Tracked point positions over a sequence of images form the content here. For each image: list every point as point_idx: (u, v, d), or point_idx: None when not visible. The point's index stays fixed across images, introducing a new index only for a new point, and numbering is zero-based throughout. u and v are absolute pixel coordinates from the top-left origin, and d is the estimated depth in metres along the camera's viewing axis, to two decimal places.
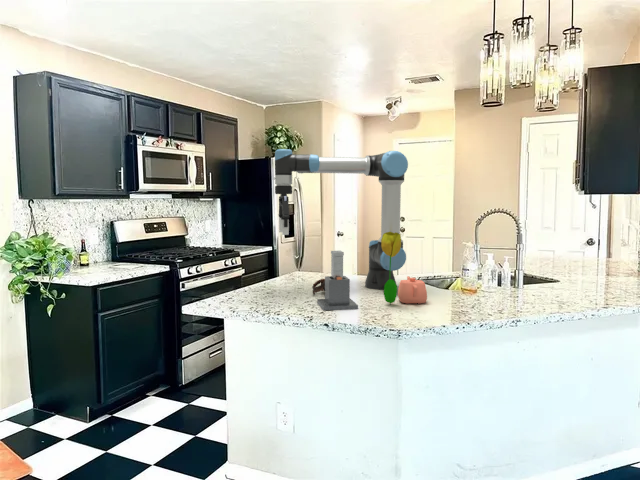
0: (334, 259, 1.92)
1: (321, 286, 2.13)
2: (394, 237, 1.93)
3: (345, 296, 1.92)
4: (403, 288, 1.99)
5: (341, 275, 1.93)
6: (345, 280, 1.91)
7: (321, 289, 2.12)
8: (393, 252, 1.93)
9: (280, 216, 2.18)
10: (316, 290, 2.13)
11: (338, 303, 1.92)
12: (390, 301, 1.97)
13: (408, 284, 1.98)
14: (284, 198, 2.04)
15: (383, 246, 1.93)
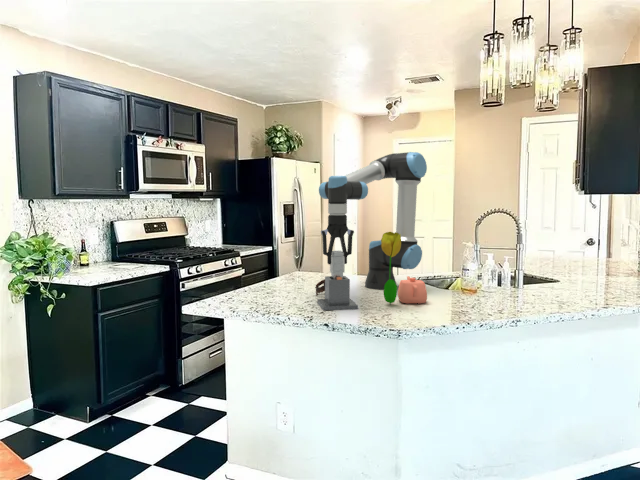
0: (334, 259, 1.92)
1: (324, 286, 2.12)
2: (394, 237, 1.93)
3: (345, 296, 1.92)
4: (403, 288, 1.99)
5: (341, 275, 1.93)
6: (345, 280, 1.91)
7: (324, 289, 2.12)
8: (393, 252, 1.93)
9: None
10: (319, 290, 2.13)
11: (338, 303, 1.92)
12: (390, 301, 1.97)
13: (408, 284, 1.98)
14: (321, 233, 1.92)
15: (383, 246, 1.93)
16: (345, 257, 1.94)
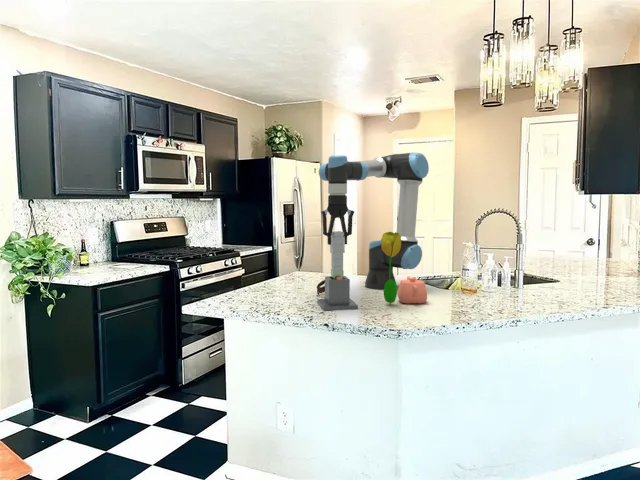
0: (334, 239, 1.91)
1: None
2: (394, 237, 1.93)
3: (345, 296, 1.92)
4: (403, 288, 1.99)
5: (341, 255, 1.92)
6: (345, 280, 1.91)
7: None
8: (393, 252, 1.93)
9: None
10: (321, 290, 2.12)
11: (338, 303, 1.92)
12: (390, 301, 1.97)
13: (408, 284, 1.98)
14: (321, 213, 1.92)
15: (383, 246, 1.93)
16: (345, 237, 1.93)
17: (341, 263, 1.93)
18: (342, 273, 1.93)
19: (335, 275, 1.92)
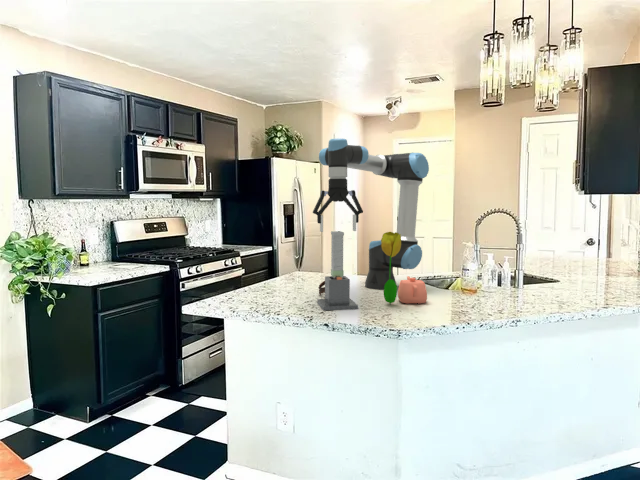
0: (334, 239, 1.91)
1: None
2: (394, 237, 1.93)
3: (345, 296, 1.92)
4: (403, 288, 1.99)
5: (341, 255, 1.92)
6: (345, 280, 1.91)
7: None
8: (393, 252, 1.93)
9: (354, 213, 1.95)
10: (323, 291, 2.12)
11: (338, 303, 1.92)
12: (390, 301, 1.97)
13: (408, 284, 1.98)
14: None
15: (383, 246, 1.93)
16: (357, 216, 1.93)
17: (341, 263, 1.93)
18: (342, 273, 1.93)
19: (335, 275, 1.92)
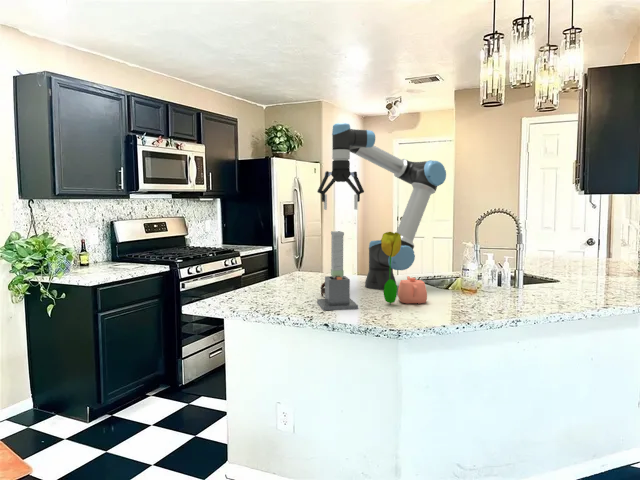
0: (334, 239, 1.91)
1: None
2: (394, 237, 1.93)
3: (345, 296, 1.92)
4: (403, 288, 1.99)
5: (341, 255, 1.92)
6: (345, 280, 1.91)
7: None
8: (393, 252, 1.93)
9: (356, 192, 2.10)
10: None
11: (338, 303, 1.92)
12: (390, 301, 1.97)
13: (408, 284, 1.98)
14: (325, 173, 2.06)
15: (383, 246, 1.93)
16: (358, 195, 2.09)
17: (341, 263, 1.93)
18: (342, 273, 1.93)
19: (335, 275, 1.92)
